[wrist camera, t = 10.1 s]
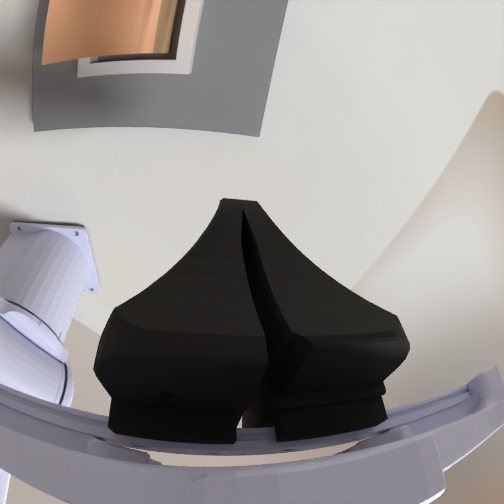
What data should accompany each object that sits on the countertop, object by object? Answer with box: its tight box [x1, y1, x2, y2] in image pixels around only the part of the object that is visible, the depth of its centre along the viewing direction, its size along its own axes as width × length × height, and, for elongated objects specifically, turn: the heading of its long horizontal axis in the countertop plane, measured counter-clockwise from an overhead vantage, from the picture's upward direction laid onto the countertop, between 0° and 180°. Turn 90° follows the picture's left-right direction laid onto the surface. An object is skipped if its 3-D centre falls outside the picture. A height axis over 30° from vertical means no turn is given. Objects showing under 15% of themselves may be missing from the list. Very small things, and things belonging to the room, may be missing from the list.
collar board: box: [32, 0, 288, 137], centre depth 11 cm, size 16×14×3 cm
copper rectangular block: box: [42, 0, 180, 65], centre depth 8 cm, size 4×4×7 cm
